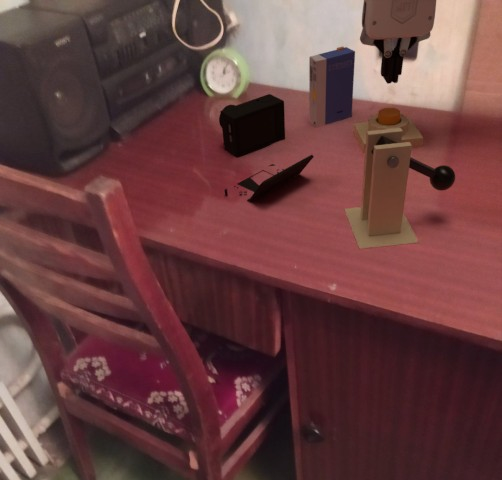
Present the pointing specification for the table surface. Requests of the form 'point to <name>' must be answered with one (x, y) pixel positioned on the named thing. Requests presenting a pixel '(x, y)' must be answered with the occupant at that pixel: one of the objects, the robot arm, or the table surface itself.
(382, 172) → the switch bracket
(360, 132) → the button block
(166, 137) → the table surface
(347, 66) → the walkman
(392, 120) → the button
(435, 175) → the switch lever
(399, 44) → the robot arm
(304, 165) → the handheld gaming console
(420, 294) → the table surface
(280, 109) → the digital camera
